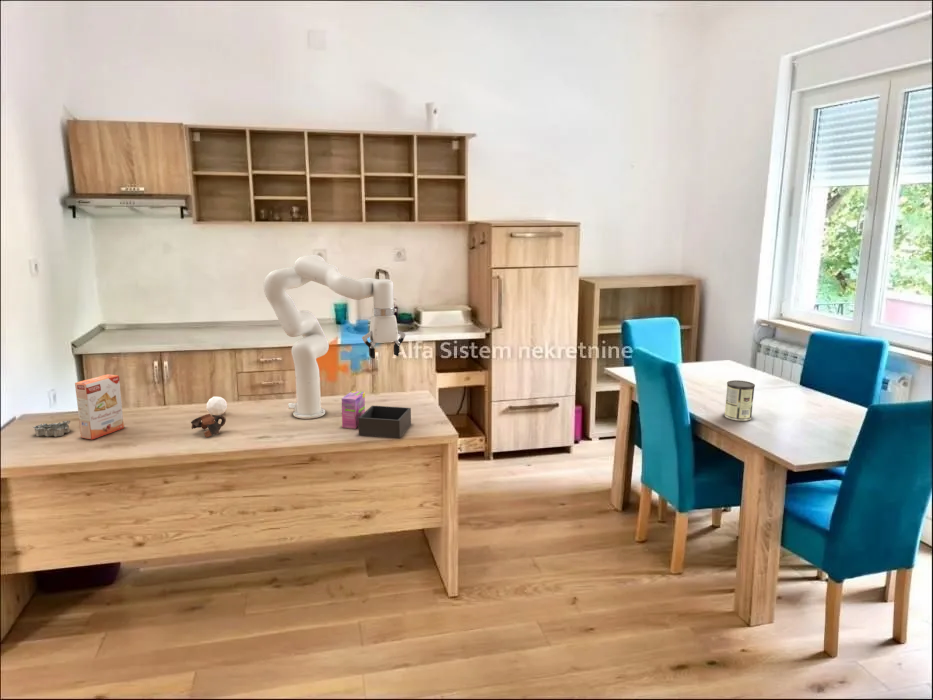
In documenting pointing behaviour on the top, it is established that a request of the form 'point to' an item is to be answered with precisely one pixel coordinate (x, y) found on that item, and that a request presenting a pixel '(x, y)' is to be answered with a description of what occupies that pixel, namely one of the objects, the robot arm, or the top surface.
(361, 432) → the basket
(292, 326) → the robot arm
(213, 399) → the ball
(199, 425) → the pottery mug
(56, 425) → the egg carton
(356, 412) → the box
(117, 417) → the cracker box
